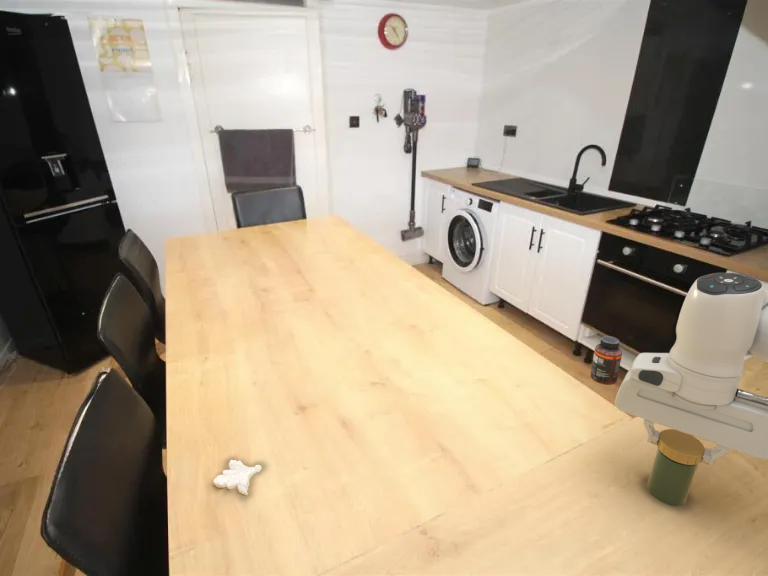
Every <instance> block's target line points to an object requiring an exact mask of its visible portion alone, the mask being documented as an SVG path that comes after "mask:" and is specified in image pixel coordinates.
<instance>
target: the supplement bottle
mask: <svg viewBox="0 0 768 576" xmlns="http://www.w3.org/2000/svg"><path fill="white" fill-rule="evenodd" d="M620 343H621V342H620V340H619V339H618V338H617V337H614V336H610V335H606V336H605V335H604V336H602V337H601V338H600V342H599V343H598V344H597V345H595V347H594V352H593V359H592V363H591V370H590V378H591V380H592V381H594V382H596V383H598V384H601V385H605V386H612V385H615V384H617V382H618V377H619V371H620V367H621V362H622V357H623V350H622V348H620Z"/></svg>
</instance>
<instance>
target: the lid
mask: <svg viewBox="0 0 768 576" xmlns="http://www.w3.org/2000/svg"><path fill="white" fill-rule="evenodd" d="M659 432H660V435H659V440H658V444H657V445H656V446H657V448H658V449H659V450H660V451H661V452H662V453H663V454H664V455H665V456H666V457H668V458H669V459H671V460H673V461H676V462H678V463H681V464H686V465H696V464H698V463H699V464H701V463H702V462H701V460H702V457H703V454H704V451H705V448H706V447H705V446H704V444H703V443H702V442H701V441H700V440H699V438H697V437H695V436H692V435H689V434H686V433H683V432H680V431H677V430H675V429H672V428H667V429H663V430H661V431H659ZM699 464H698V465H699Z"/></svg>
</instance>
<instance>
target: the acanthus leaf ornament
mask: <svg viewBox="0 0 768 576" xmlns="http://www.w3.org/2000/svg"><path fill="white" fill-rule="evenodd" d="M262 467H263V466H261V465H260V464H256V465H255V466H247V465H245V464H244V463H243V462H242V460H238V461H237V460H236V459H230V460H229V463H228V469H224V470H222V471H221V474H218V475H217V476H216V477H215V478H214V479H213V480H212V483H213V485H214V486H216V488H218V489H219V488H220V489H222V488H223V489H225V488H226V489H228V490H233V489H235V488H236V487H237V491H238V493H240V494H242V495H244V496H248V494H249V493H248V491H249V487H250V479H252V477H253V476H254V475H255V474H256V473H258V472H260V471H262V470H263V469H262Z"/></svg>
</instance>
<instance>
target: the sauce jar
mask: <svg viewBox="0 0 768 576" xmlns="http://www.w3.org/2000/svg"><path fill="white" fill-rule="evenodd" d="M699 464H700V463H698V464H696V465H686V464H681V463H678V462H676V461H673V460H671V459H669V458H668V457H666V456H665V455H664V454H663V453H662V452H661V451H660V450H659V449H658V447H656V451H655V455H654V459H653V463H652V466H651V468H650V473H649V477H648V479H647V484H646V488H647V490H648V492H649V493H650V495H651V496H652V497H653V498H655V499H656V500H657V501H659V502H661V503H663V504H666V505H668V506H673V507H681V506H684V505H685V504H686V502H687V501H688V500H687V499H688V497H689V493H690V490H691V489H692V488H691V487H692V484H693V482H694V478H695V476H696V474H697V473H696V472H697V469H698V466H699Z"/></svg>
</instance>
